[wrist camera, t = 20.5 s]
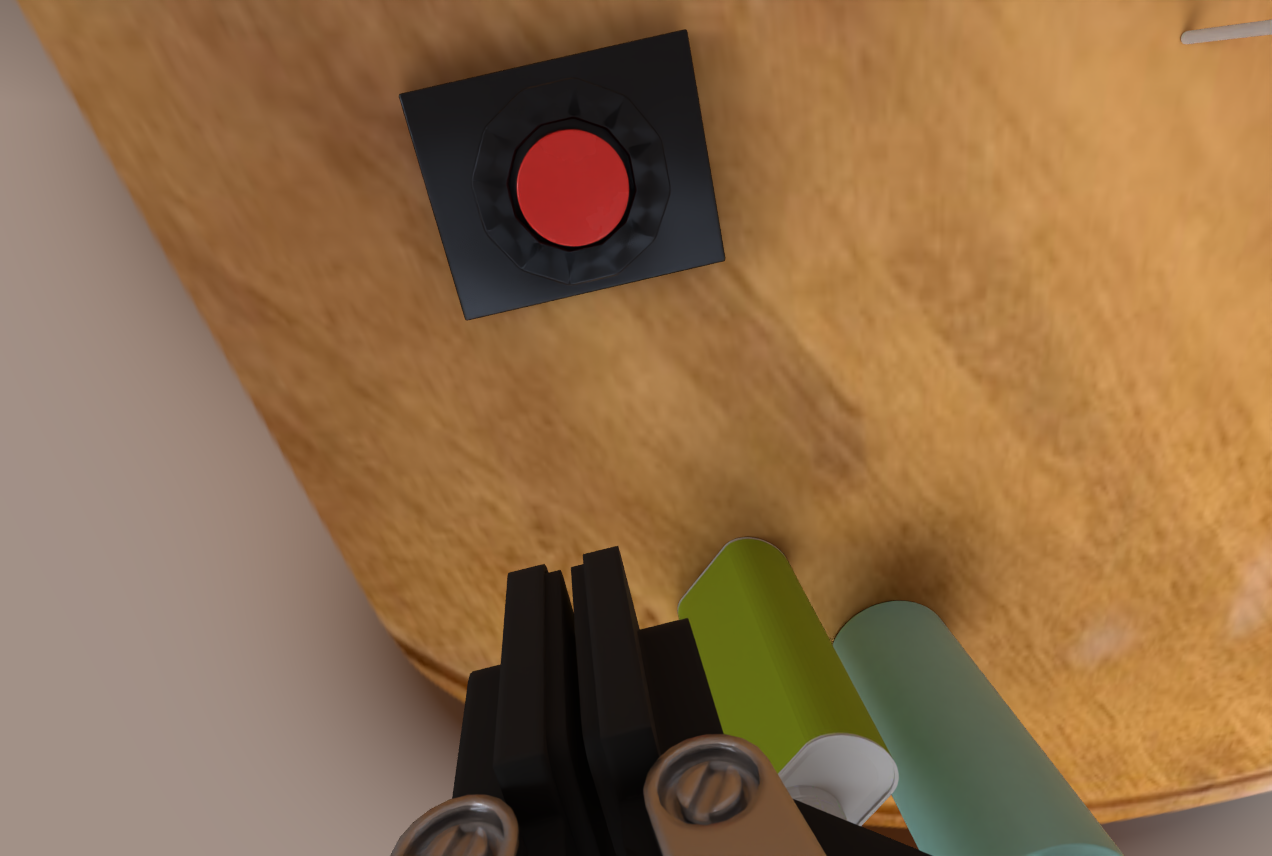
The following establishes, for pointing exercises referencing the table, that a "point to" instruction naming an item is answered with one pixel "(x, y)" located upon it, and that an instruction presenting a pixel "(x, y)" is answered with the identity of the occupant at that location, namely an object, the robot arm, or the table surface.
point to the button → (572, 187)
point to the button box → (543, 103)
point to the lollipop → (1228, 32)
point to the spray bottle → (959, 745)
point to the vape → (786, 682)
